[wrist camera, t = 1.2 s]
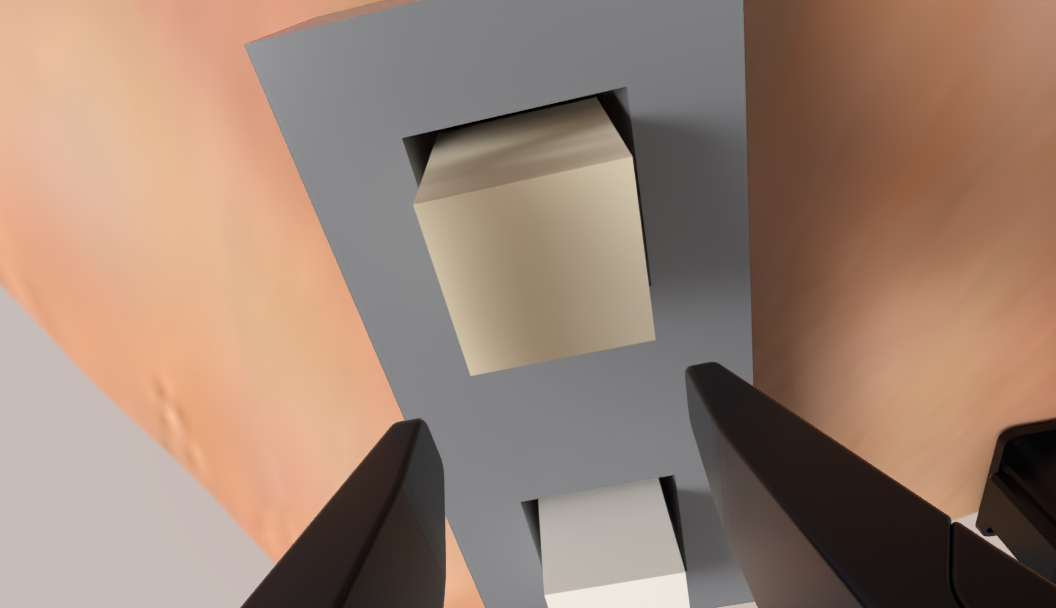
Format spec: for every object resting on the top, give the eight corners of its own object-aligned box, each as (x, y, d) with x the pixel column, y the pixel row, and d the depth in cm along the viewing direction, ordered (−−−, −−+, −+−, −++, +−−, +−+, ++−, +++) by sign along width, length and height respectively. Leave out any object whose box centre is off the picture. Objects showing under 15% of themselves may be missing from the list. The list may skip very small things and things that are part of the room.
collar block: (676, -73, 16) (740, -79, 11) (718, 495, 27) (759, 600, 22) (311, 19, 16) (243, 44, 12) (500, 533, 28) (499, 641, 23)
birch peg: (595, 97, 15) (632, 156, 11) (618, 242, 17) (655, 339, 13) (438, 133, 15) (413, 204, 11) (478, 271, 17) (470, 376, 13)
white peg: (649, 447, 21) (685, 572, 17) (660, 522, 23) (695, 650, 19) (536, 468, 21) (544, 594, 17) (557, 540, 23) (569, 669, 19)
